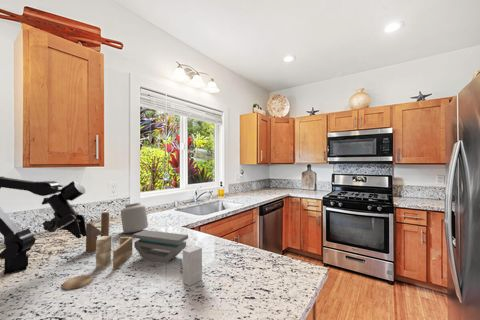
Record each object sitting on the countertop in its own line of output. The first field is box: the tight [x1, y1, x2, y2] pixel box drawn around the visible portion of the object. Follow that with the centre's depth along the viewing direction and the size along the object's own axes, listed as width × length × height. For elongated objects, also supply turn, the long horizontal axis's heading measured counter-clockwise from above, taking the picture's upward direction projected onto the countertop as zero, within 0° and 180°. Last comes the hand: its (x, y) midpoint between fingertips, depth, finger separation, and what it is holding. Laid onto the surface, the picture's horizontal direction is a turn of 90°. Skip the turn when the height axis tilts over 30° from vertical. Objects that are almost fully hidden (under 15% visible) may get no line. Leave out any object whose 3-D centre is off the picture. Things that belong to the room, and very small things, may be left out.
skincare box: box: [182, 245, 203, 287], centre depth 82 cm, size 6×4×12 cm
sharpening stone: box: [132, 229, 189, 264], centre depth 102 cm, size 25×8×11 cm, turn 71°
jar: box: [120, 202, 149, 234], centre depth 143 cm, size 19×15×25 cm
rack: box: [112, 236, 134, 271], centre depth 99 cm, size 6×17×8 cm, turn 4°
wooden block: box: [85, 211, 110, 253], centre depth 114 cm, size 4×11×18 cm, turn 158°
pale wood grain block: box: [95, 235, 112, 270], centre depth 94 cm, size 4×5×12 cm
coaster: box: [61, 274, 94, 291], centre depth 80 cm, size 9×9×1 cm
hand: (82, 237), depth 94 cm, fingers open, 9 cm apart
